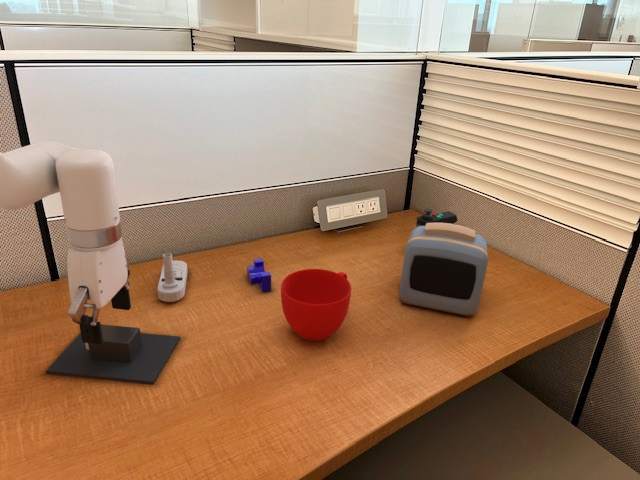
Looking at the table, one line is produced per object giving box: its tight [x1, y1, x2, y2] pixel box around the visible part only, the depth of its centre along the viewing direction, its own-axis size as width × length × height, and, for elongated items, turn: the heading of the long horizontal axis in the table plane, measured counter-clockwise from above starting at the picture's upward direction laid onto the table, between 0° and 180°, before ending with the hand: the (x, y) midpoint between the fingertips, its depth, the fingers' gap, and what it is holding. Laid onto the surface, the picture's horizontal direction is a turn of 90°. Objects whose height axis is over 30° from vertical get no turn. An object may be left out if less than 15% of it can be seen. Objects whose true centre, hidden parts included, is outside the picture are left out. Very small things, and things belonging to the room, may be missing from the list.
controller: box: [415, 208, 458, 227], centre depth 128 cm, size 4×12×10 cm, turn 118°
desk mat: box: [45, 332, 181, 385], centre depth 83 cm, size 18×12×1 cm, turn 85°
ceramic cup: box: [280, 268, 352, 342], centre depth 91 cm, size 13×17×10 cm
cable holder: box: [246, 258, 272, 293], centre depth 106 cm, size 8×4×4 cm, turn 20°
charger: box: [85, 323, 142, 363], centre depth 82 cm, size 8×4×4 cm, turn 85°
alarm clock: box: [398, 223, 489, 317], centre depth 103 cm, size 16×16×16 cm
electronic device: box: [156, 252, 189, 303], centre depth 103 cm, size 5×10×15 cm
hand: (108, 324), depth 80 cm, fingers open, 9 cm apart
